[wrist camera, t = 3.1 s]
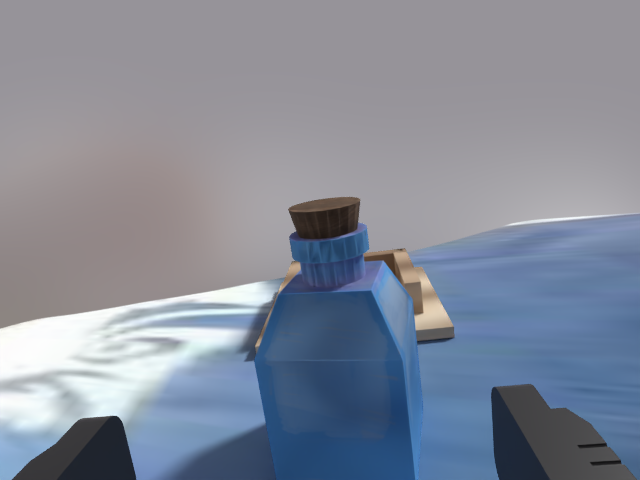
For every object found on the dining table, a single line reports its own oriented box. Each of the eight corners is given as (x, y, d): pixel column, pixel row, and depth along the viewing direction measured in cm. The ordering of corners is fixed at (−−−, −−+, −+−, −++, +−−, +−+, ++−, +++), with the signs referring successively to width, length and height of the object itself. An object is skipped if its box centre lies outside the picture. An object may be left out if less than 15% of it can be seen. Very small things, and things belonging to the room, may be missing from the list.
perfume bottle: (277, 484, 21) (228, 225, 18) (313, 403, 26) (281, 198, 24) (417, 495, 19) (387, 212, 16) (423, 406, 25) (401, 186, 22)
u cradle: (283, 289, 47) (278, 258, 46) (422, 274, 45) (419, 242, 45) (256, 356, 33) (248, 314, 32) (454, 337, 32) (451, 292, 31)
